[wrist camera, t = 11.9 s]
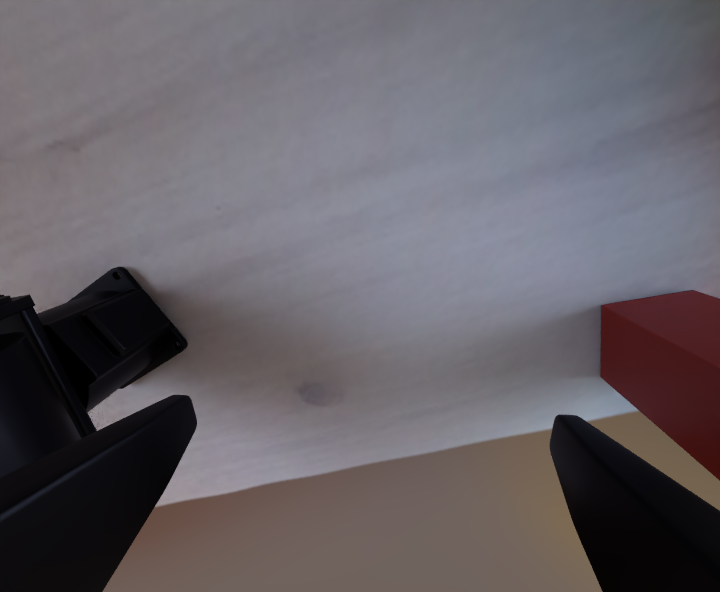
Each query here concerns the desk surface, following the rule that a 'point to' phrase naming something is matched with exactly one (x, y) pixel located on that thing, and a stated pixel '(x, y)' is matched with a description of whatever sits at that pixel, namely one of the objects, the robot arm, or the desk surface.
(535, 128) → the desk surface
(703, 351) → the red block
